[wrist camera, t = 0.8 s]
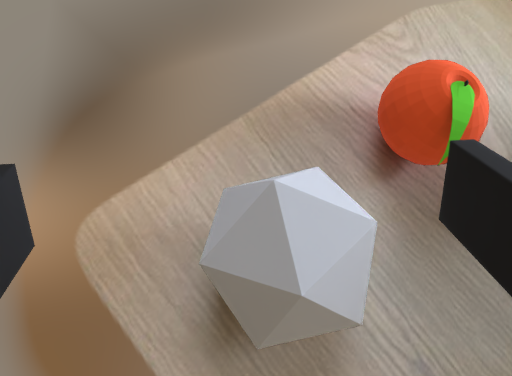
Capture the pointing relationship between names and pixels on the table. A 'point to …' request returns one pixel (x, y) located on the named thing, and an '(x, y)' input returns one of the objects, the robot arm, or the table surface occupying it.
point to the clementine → (432, 110)
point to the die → (291, 257)
